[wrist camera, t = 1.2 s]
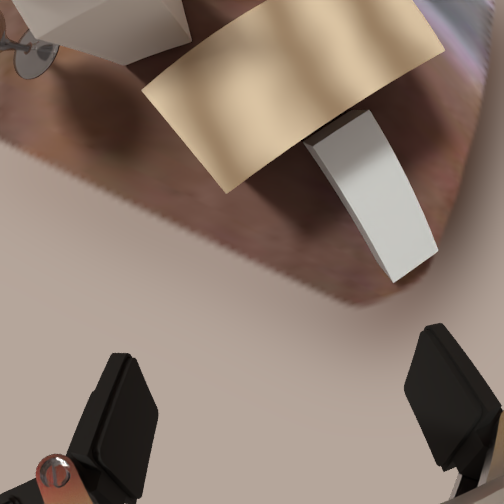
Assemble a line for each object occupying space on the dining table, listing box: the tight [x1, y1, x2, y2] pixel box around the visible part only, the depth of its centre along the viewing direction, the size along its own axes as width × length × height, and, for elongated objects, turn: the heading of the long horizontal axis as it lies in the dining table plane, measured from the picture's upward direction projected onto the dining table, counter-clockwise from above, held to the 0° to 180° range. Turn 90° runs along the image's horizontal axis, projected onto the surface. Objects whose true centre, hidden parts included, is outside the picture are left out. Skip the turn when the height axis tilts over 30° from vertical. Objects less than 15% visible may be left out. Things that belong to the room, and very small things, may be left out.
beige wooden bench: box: [141, 0, 445, 194], centre depth 21 cm, size 20×9×10 cm, turn 127°
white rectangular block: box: [303, 110, 438, 283], centre depth 29 cm, size 6×16×5 cm, turn 36°
